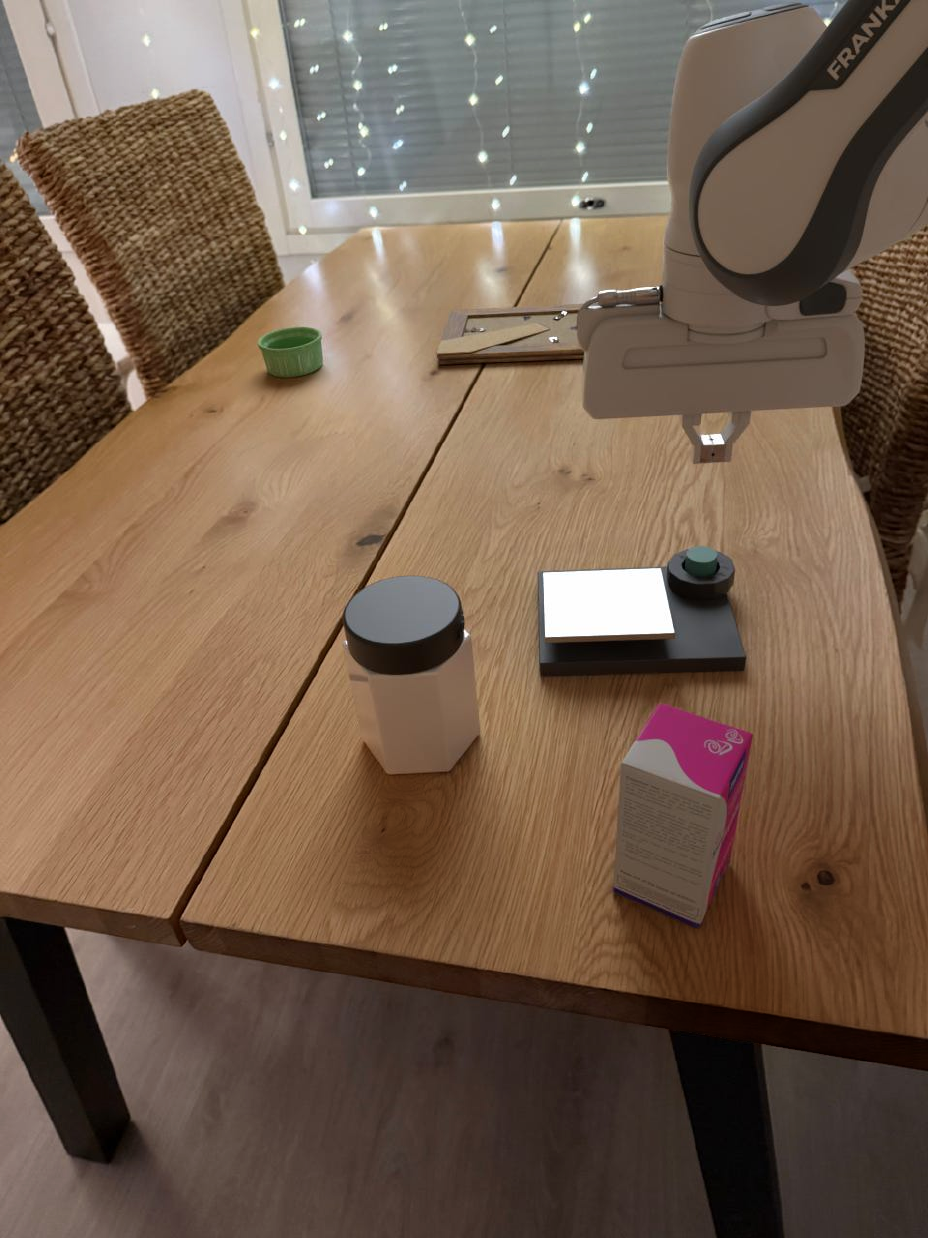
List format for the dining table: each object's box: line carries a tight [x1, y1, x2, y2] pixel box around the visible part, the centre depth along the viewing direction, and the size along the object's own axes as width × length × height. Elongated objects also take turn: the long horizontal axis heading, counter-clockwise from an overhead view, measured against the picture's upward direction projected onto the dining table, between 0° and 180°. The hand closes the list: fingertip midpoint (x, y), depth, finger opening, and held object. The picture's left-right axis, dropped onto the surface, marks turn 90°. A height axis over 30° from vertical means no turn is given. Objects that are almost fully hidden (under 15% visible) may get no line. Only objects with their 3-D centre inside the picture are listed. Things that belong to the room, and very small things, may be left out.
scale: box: [537, 548, 747, 677], centre depth 77 cm, size 17×13×3 cm
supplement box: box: [611, 702, 754, 929], centre depth 54 cm, size 6×6×12 cm
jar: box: [342, 575, 481, 775], centre depth 66 cm, size 9×8×12 cm
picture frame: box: [436, 302, 598, 365], centre depth 133 cm, size 19×2×24 cm
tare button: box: [685, 545, 718, 576], centre depth 79 cm, size 3×3×2 cm
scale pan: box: [543, 568, 675, 643], centre depth 75 cm, size 10×9×1 cm
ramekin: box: [257, 326, 324, 378], centre depth 131 cm, size 9×9×4 cm
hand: (710, 459), depth 73 cm, fingers closed
